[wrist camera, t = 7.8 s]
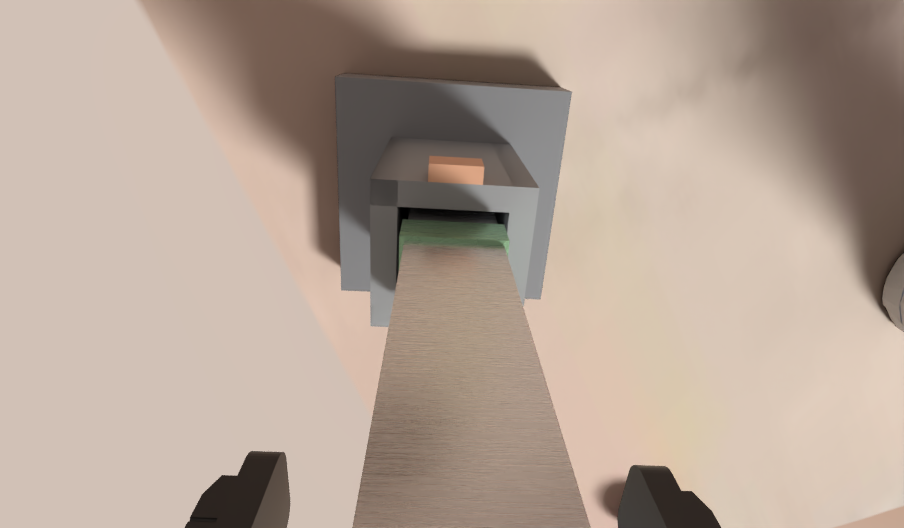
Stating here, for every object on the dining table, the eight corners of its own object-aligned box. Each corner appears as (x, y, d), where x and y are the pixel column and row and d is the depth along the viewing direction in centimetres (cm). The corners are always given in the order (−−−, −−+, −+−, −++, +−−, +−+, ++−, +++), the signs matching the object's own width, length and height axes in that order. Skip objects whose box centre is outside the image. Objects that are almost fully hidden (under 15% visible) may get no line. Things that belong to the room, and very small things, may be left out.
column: (408, 190, 26) (332, 552, 8) (494, 195, 26) (617, 559, 8) (406, 268, 28) (340, 712, 9) (486, 271, 28) (572, 714, 10)
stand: (343, 73, 32) (287, 93, 20) (560, 87, 33) (628, 115, 21) (348, 271, 38) (306, 378, 26) (533, 280, 38) (574, 388, 27)
